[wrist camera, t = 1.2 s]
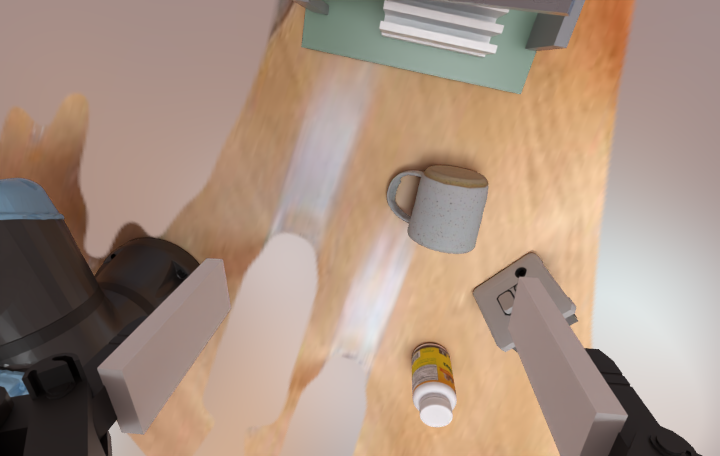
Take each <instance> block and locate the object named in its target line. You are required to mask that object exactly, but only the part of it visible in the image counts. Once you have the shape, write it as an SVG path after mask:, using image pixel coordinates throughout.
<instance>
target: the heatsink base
mask: <svg viewBox="0 0 720 456" xmlns="http://www.w3.org/2000/svg"><path fill="white" fill-rule="evenodd" d="M293 1H294V2H296V3H298V4H299V5H301V6H303V7H305V8H306V11H305V20H304V29H303V38H302V47H304V48H309V49H313V50H318V51H322V52H327V53H332V54H336V55H341V56H346V57H350V58H355V59H360V60H364V61H369V62H373V63H378V64H383V65H387V66H392V67H397V68H401V69H406V70H411V71H415V72H420V73H424V74H429V75H434V76H438V77H443V78H448V79H452V80H457V81H462V82H466V83H471V84H475V85H480V86H485V87H489V88H494V89H499V90H503V91H508V92H513V93H517V94H521V92H522V89H523V86H524V84H525V81H526V78H527V75H528V73H529V70H530V67H531V64H532V62H533V59H534V56H535V53H536V51H542V50H552V49H562V48H566V47H567V45H568V42H569V40H570V37H571V35H572V32H573V30H574V27H575V25H576V22H577V20H578V17H579V15H580V12H581V9H582V7H583V4H584V2H585V0H575V3H574V6H573V8H572V11H571V13H570V16H561V15H553V14H544V13H535V12H526V11H517V10H508V9H499V8H490V7H482V6H473V5H464V4H455V3H446V2H437V1H428V0H293Z"/></svg>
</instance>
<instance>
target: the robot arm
mask: <svg viewBox="0 0 720 456" xmlns="http://www.w3.org/2000/svg"><path fill="white" fill-rule="evenodd" d="M63 219H65V218H64V216H63V215H62V214H60V213H59V212H58V211H57V209H56V208H55V206H54V205H53V203H52V201H51V200H50V198H49V197H48V195H47V193H46V192H45V190H44V189H43V188H42V187H41V186H40V185H39V184H37V183H36V182H34V181H32V180H29V179H25V178H9V179H2V180H0V456H112V446H111V436H110V434H109V431H108V430H109V429H110V427H111V426H112V425H113V424H114V422H115V421H116V420H117V421H118V424H119V427H120V429H121V432H125V433H134V434H145V432H146V431H147V429H148V428H149V426H150V425H151V424H152V422H153V421H154V419H155V418H156V416H157V415H158V413H159V412H160V411H161V409H162V408H163V406H164V405H165V403H166V402H167V401H168V399H169V398H170V396H171V395H172V393H173V392H174V390H175V389H176V388H177V386H178V385H179V383H180V382H181V380H182V379H183V377H184V376H185V375H186V373H187V372H188V370H189V369H190V367H191V366H192V364H193V363H194V362H195V360H196V359H197V357H198V356H199V354H200V353H201V351H202V350H203V349H204V347H205V346H206V344H207V343H208V341H209V340H210V338H211V337H212V336H213V334H214V333H215V331H216V330H217V328H218V327H219V325H220V324H221V323H222V321H223V320H224V318H225V317H226V315H227V314H228V312H229V311H230V310H231V305H230V299H229V293H228V287H227V281H226V275H225V269H224V263H223V259H212V258H207V259H206V260H205V261H204V262H203V263H202V264H201V265H199V264H198V263H197V261H196V260H195V259H194V258H193V257H192V256H190V255H189V254H188V253H187V252H185V251H184V250H183V249H181V248H179V247H178V246H176V245H174V244H172V243H169V242H166V241H163V240H160V239H154V238H139V239H134V240H131V241H129V242H127V243H125V244H124V245H122V246H121V247H119V248H117V249H116V250H114V251H113V252H112V253H111V254H110V255H109V256H108V257H107V258H106V260H105V261H104V263H103V264H102V266H101V267H100V268H99V270H98V271H97V273H96V274H95V276H94V275H93V273H92V271H91V269H90V268H89V266H88V264H87V262H86V261H85V259H84V257H83V255H82V253H81V251H80V249H79V248H78V246H77V244H76V242H75V240H74V238H73V237H72V235H71V233H70V231H69V229H68V227H67V225H66V224H65V222H64V220H63ZM508 330H509V332H510V335H511V337H512V339H513V342H514V344H515V347H516V349H517V352H518V354H519V356H520V359H521V361H522V364H523V366H524V368H525V371H526V373H527V376H528V378H529V381H530V383H531V385H532V388H533V390H534V393H535V395H536V398H537V400H538V402H539V405H540V407H541V410H542V412H543V415H544V417H545V419H546V422H547V424H548V427H549V429H550V431H551V434H552V436H553V439H554V441H555V444H556V446H557V448H558V451H559V453H560V456H702V455H699V454H697V453H696V451H695V450H694V448H693V447H692V446H691V445H690V444H689V443H688V442H687V441H686V440H685V439H683V438H682V437H680V436H679V435H677V434H676V433H674V432H673V431H671V430H668V429H666V428H663V427H661V426H660V425H659V424H658V423H657V421H656V419H655V418H654V417H653V416H652V414H651V413H650V411H649V410H648V408H647V407H646V406H645V404H644V403H643V402H642V400H641V399H640V397H639V396H638V395H637V393H636V392H635V390H634V389H633V388H632V387H630V384H629V382H628V381H627V379H626V378H625V377H624V376H622V372H621V371H620V370H619V368H618V367H617V366H616V364H615V363H614V361H613V360H611V359H610V358H609V357H608V356H606V355H605V354H604V353H603V352H601V351H600V350H599V349H588V348H584V347H583V346H582V344H581V343H580V341H579V340H578V338H577V337H576V335H575V334H574V332H573V330H572V329H571V327H570V326H569V324H568V323H567V321H566V320H565V318H564V317H563V315H562V314H561V312H560V311H559V309H558V307H557V306H556V304H555V303H554V301H553V300H552V298H551V297H550V295H549V294H548V292H547V291H546V289H545V288H544V286H543V285H542V283H541V281H540V280H539V278H533V277H519V281H518V285H517V290H516V294H515V299H514V303H513V308H512V312H511V317H510V321H509V326H508Z"/></svg>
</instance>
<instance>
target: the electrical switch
mask: <svg viewBox="0 0 720 456" xmlns="http://www.w3.org/2000/svg"><path fill="white" fill-rule="evenodd" d="M519 277H533V278H539V280H540V281H541V283H542V285H543V286H544V288H545V289H546V291H547V292H548V294H549V295H550V297H551V298H552V300H553V301H554V303H555V304H556V306H557V307H558V309H559V311H560V312H561V314H562V315H563V317H564V318H565V320H566V321H567V323H568V324H569V326H570V325H572V324H574V323H575V322H577V321H578V320H577V319H576V318H577V317H576V316H575V314H574V313H575V310H576V306H575V304H574V303H573V302H572V300H571V299H570V298H568V297H567V296H566V294H565V293H564V292H563V290H562V289H561V288H560V286H559V285H558V284H557V282H556V281H555V280H554V278H553V277H552V276H551V274H550V273H549V272H548V270H547V269H546V268H545V266H544V265H543V262H542V261H541V259H540V258H539V257H538V256H537V255H536V254H534V253H529V254H527V255H525V256H524V257H522V258H521V259H519V260H518V261H516V262H515V263H513V264H512V265H510V266H509V267H507V268H506V269H504V270H503V271H501V272H500V273H498V274H497V275H495V276H494V277H492V278H491V279H489V280H488V281H486V282H485V283H483V284H482V285H480V286H479V287H477V288H475V290H474V292H473V295H474V297H475V299H476V302H477V304H478V306H479V308H480V310H481V312H482V314H483V316H484V319H485V321H486V323H487V325H488V327H489V329H490V331H491V333H492V336H493V338H494V340H495V342H496V344H497V346H498V347H499V348H500V349H501V350H503V351H505V352H506V351H508V350H510V349H514V350H515V351H516V352H517V349H516V347H515V344H514V342H513V339H512V337H511V335H510V332H509V330H508V326H509V321H510V317H511V312H512V308H513V303H514V299H515V294H516V290H517V285H518V281H519ZM574 316H575V317H576V318H575V317H574Z"/></svg>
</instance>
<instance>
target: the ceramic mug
mask: <svg viewBox="0 0 720 456" xmlns="http://www.w3.org/2000/svg"><path fill="white" fill-rule="evenodd" d="M406 175H413V176H419V177H421V180H420V183H419V187H418V191H417V196H416V200H415V204H414V208H413V211H412V215H411V216H409V215H407V214H406V213H404V212H403V211H402V210H401V209H400V208H399V207H398V206H397V204H396V202H395V194H396V191H397V188H398V185H399V184H400V183H401V180H400V179H401V178H402V177H403V176H406ZM487 194H488V181H487V179H486V178H485V177H484V176H483V175H482V174H480V173H477V172H475V171H472V170H468V169H464V168H460V167H454V166H445V165H435V166H430V167H428V168H427V169H426V170H425V171H424V172H422V171H418V170H409V171H405V172H402V173H400V174H398V175H397V176H395V177H394V178H393V179H392V181H391V183H390V185H389V187H388V191H387V201H388V204H389V206H390V208H391V210H392V211H393V212H394V213H395V214H396V215H397V216H398V217H399V218H401V219H402V220H404V221H406V222H407V223H409V227H408V235H409V236H410V238H411V239H412V240H413V241H415V242H417V243H418V244H420V245H422V246H424V247H427V248H429V249H432V250H435V251H439V252H443V253H453V254H463V253H467V252H469V251H471V250H473V248H474V247H475V244H476V240H477V235H478V231H479V228H480V224H481V219H482V215H483V211H484V207H485V203H486V200H487Z"/></svg>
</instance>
